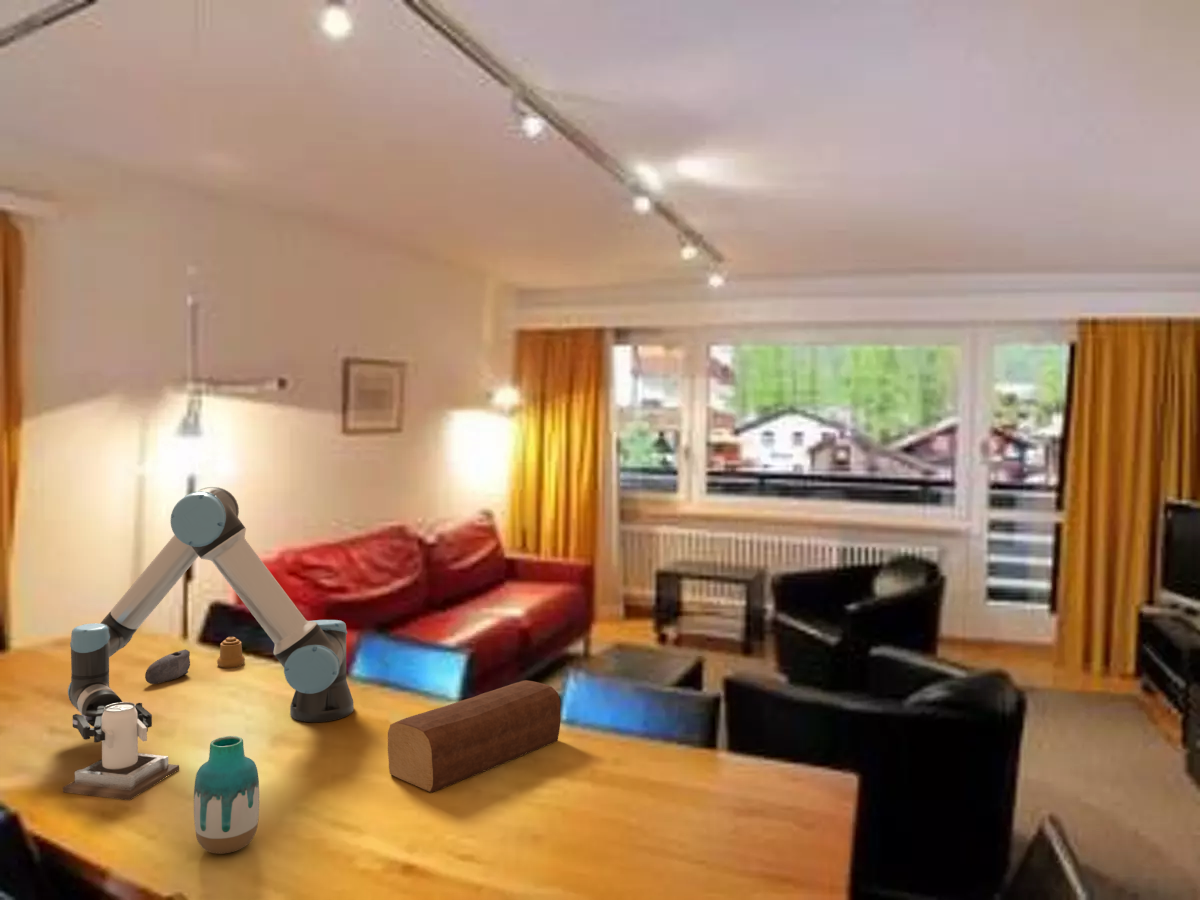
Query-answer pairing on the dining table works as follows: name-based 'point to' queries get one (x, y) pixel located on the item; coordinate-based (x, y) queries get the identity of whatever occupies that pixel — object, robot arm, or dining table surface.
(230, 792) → the vase
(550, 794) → the dining table surface
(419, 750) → the bread
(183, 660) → the perforated stone tool
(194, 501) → the robot arm
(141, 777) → the grey hollow square frame
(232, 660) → the ornamental finial
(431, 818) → the dining table surface
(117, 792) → the collar base
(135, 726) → the can
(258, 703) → the dining table surface
